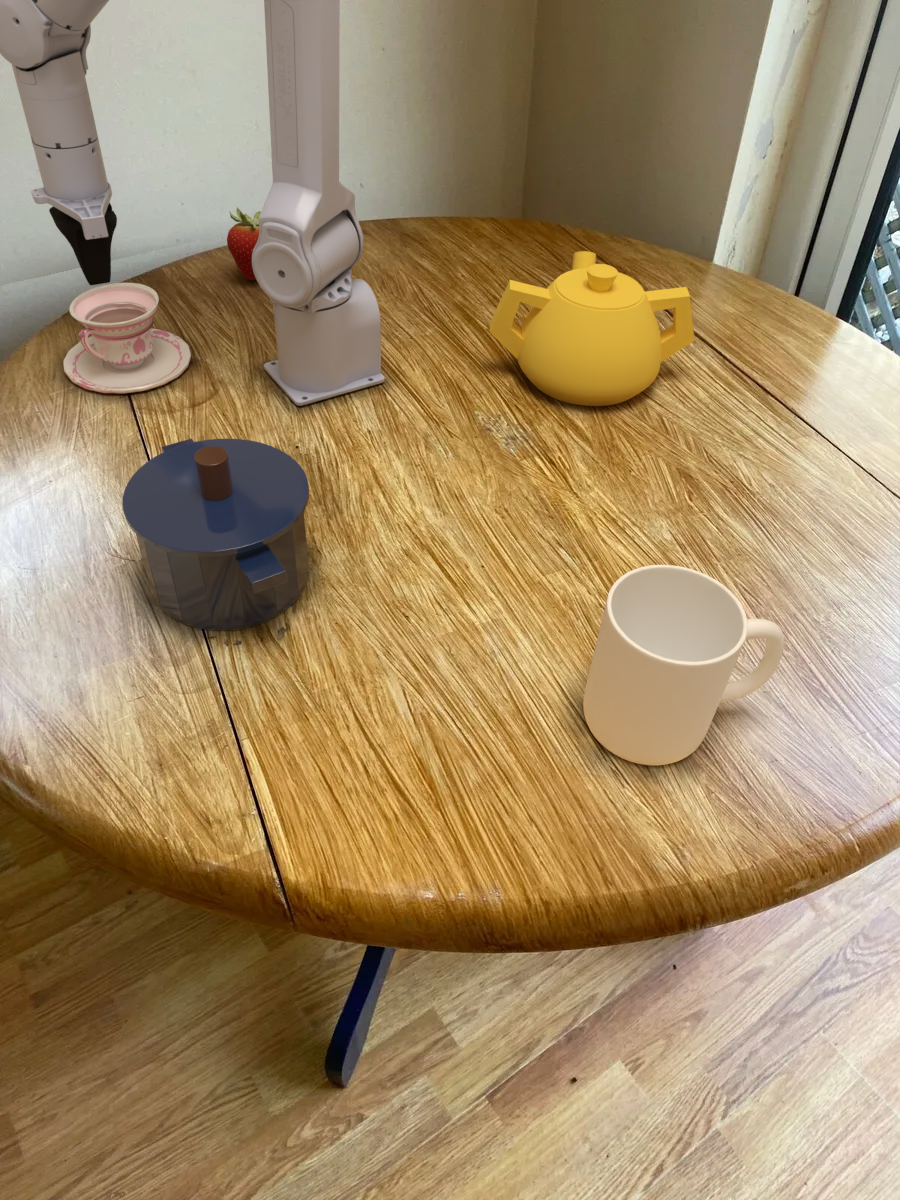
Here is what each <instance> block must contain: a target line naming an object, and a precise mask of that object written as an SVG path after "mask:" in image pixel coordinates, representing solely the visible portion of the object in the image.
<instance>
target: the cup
mask: <svg viewBox="0 0 900 1200" xmlns="http://www.w3.org/2000/svg"><path fill="white" fill-rule="evenodd" d="M761 639H763V640H764V639H765V647H764V653H763V654H762V655H763V656H762V658H761V660H760V661H759V663H758V665H757V666H756V667H755V668H754V669H753V670H752V671H751V673H749V674H748V675H746V676H745V677H742V678H741V679H737V680H733V681H730V678H731V676H732V673H733V670H734V668H735V666H736V664H737V661H738V659H739V656H740V654H741V651H742V649H743V647H744V644H745V642H746V641H750V640H761ZM784 649H785V637H784V633H783V630H782V629H781V627H780V626H779V625H778V624H777V623H775V622H774V621H772V620H769V619H765V618H747V614H746V611H745V609H744V607H743V605H742V603H741V602H740V600H739V598H737V596H736V595H735V594H734V593H733V592H732V591H731V590H730V589H729V588H728V587H726V585H724V584H722V582H720V581H718V580H717V579H715V578H713V577H711V576H710V575H708V574H706V573H703V572H701V571H698V570H695V569H692V568H689V567H685V566H679V565H672V564H651V565H645V566H641V567H638V568H634V569H632V570H630V571H627V572H625V573H624V574H623V575H622V576H620V577H619V578H618V579H617V580H616V581H614V583H613V584H612V586H611V587H610V589H609V591H608V593H607V597H606V601H605V605H604V609H603V614H602V618H601V621H600V626H599V630H598V633H597V639H596V643H595V646H594V651H593V655H592V659H591V663H590V667H589V671H588V675H587V681H586V684H585V688H584V693H583V694H584V695H583V699H582V700H583V701H582V702H583V703H582V706H583V707H582V710H583V715H584V720H585V722H586V725H587V726H588V729H589V730H590V732H591V734H592V735H593V737H594V738H595V739H596V741H598V743H600V745H602V746H603V747H604V748H605V749H606V750H607V751H608V752H610V753H612V754H613V755H615V756H617V757H619V758H620V759H622V760H626V761H628V762H631V763H633V764H638V765H644V766H663V765H664V766H665V765H669V764H673V763H677V762H679V761H681V760H684V759H685V758H687V757H689V756H690V755H692V754H693V753H694V752H695V751H697V749H698V748H699V747H700V745H701V744H702V742H703V741H704V739H705V737H706V736H707V734H708V732H709V729H710V727H711V725H712V722H713V719H714V717H715V714H716V712H717V709H718V707H719V705H720V703H724V702H725V703H726V702H729V701H734V700H735V701H736V700H739V699H743V698H745V697H747V696H749V695H751V694H753V693H755V692H756V691H758V690H760V689H761V688H762V687H764V686H765V685H766V684H767V682H769V680H770V679H771V678H772V676H773V675H774V674H775V672H776V670H777V669H778V667H779V664H780V662H781V659H782V656H783V653H784Z"/></svg>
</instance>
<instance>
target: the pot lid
mask: <svg viewBox="0 0 900 1200" xmlns="http://www.w3.org/2000/svg"><path fill="white" fill-rule="evenodd" d="M309 499H310V485H309V480H308V477H307V474H306V471H304V469H303V467H302V466H301V464H299V463H298V461H296V460H295V458H293V457H292V456H291V455H289V454H288V453H286V452H285V451H283V450H281V449H279V448H278V447H274V446H272V445H269V444H266V443H263V442H260V441H254V440H251V439H250V440H249V439H243V438H209V439H203V440H197V441H194V442H192V443H188V444H184V445H181V446H178V447H175V448H172V449H170V450H168V451H165V452H163V453H160V454H158V455H156V456H154V457H153V458H151V459H149V460H148V461H146V462H145V463H144V464H143V465H141V467H139V468H138V469H136V471H135V473H134V474H132V476H130V479H129V480H128V482H127V483H126V485H125V488H124V490H123V495H122V502H121V503H122V510H123V515H124V518H125V520H126V522H127V525H128V526H129V528H130V529H131V530H132V532H133V533H135V535H136V534H137V535H138V536H139V537H140V538H141V539H143V540H144V541H145V542H147V543H148V544H150V545H152V546H154V547H156V548H159V549H161V550H164V551H167V552H170V553H174V554H179V555H185V556H193V557H218V556H227V555H233V554H238V553H243V552H246V551H249V550H253V549H256V548H258V547H261V546H263V545H266V544H268V543H269V542H271V541H273V540H275V539H277V538H278V537H280V536H282V535H283V534H285V533H286V532H287V531H288V530H289V529H291V528H292V527H293V526H294V525H295V524H296V523H297V521H298V520H299V519H300V518H301V516H302V515H303V513H304V514H305V511H306V509H307V506H308V503H309Z"/></svg>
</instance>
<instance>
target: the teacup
mask: <svg viewBox="0 0 900 1200" xmlns="http://www.w3.org/2000/svg"><path fill="white" fill-rule="evenodd" d="M159 300H160V297H159V295H158V293H157V291H156V290H155V289H153V288H152V287H150V286H148V285H146V284H142V283H137V282H113V283H106V284H102V285H99V286H96V287H93V288H90V289H88V290H86V291H84V292H82V293H80V294H79V295H77V297H75V298H74V299H73V300H72V302H71V303H70V305H69V307H68V308H69V309H68V311H69V314H70V316H71V317H72V318H73V319H75V321H76V322H78V324H80V325H82V326H83V327H84V329H80V332H79V333H78V334H77V335H78V337H79V338H80V339H79V340H80V341H78V342H77V343H76V344H75V345H74V346H72V347H71V348H70V349H69V350H68V351H67V353H66V355H65V357H64V358H63V362H62V363H63V371H64V374H65V375H66V376H67V378H68V379H69V380H70V381H71V382H72V383H73V384H75V385H77V386H78V387H81V388H83V389H85V390H89V391H94V392H98V393H102V394H130V393H137V392H144V391H148V390H151V389H155V388H158V387H161V386H163V385H166V384H168V383H169V382H171V381H173V380H175V379H177V378H178V377H180V376H181V375H183V373H184V372H185V371H186V370H187V369H188V368H189V365H190V362H191V359H192V353H191V349H190V346H189V344H188V343H187V342H186V341H185V340H184V339H183V338H182V337H180V336H178V335H177V334H174V333H172V332H170V331H167V330H162V329H158V328H152V327H153V325H154V317H155V315H156V314H157V311H158V309H159V302H160V301H159ZM89 335H90V336H89Z"/></svg>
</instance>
